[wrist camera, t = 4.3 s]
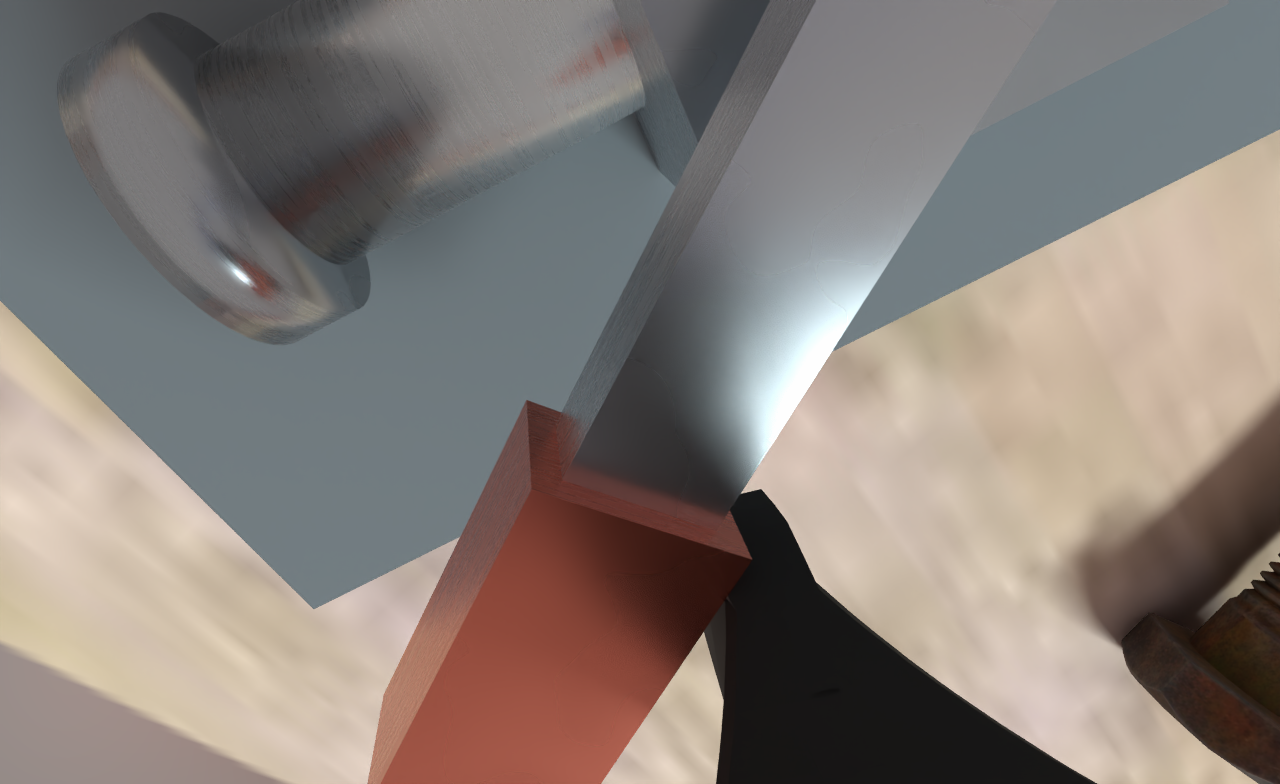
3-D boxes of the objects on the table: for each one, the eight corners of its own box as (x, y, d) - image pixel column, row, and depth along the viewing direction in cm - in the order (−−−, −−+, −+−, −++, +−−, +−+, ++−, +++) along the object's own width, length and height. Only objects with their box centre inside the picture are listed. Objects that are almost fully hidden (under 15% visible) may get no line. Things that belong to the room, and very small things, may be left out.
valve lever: (950, -475, 5) (1130, -677, 3) (1157, -264, 6) (1374, -360, 4) (383, 695, 9) (360, 822, 7) (549, 727, 10) (557, 849, 8)
